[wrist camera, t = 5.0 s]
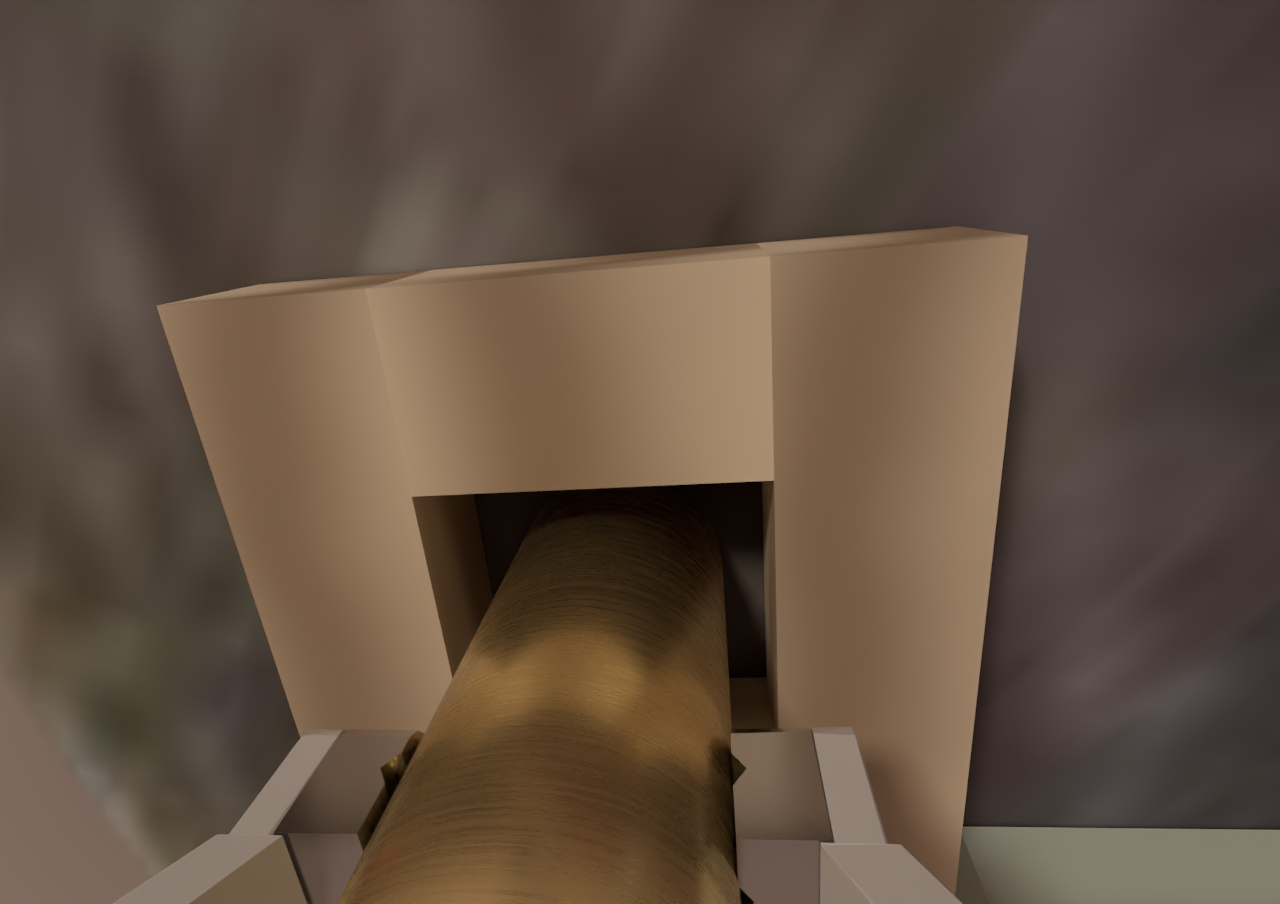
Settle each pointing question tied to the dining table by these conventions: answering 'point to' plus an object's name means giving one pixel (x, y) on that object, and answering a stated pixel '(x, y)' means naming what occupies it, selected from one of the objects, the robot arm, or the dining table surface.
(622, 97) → the dining table surface
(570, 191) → the dining table surface
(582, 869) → the pin
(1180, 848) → the socket block
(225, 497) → the birch mount
